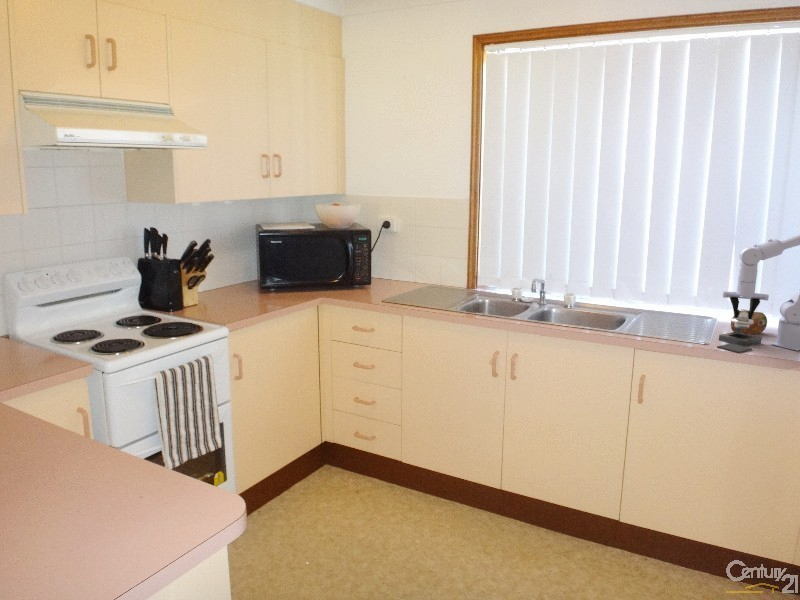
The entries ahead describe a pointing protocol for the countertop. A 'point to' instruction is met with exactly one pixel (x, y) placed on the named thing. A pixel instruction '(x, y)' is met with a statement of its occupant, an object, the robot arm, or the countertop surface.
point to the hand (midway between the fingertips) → (742, 318)
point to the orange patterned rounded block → (757, 325)
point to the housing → (740, 339)
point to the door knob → (742, 319)
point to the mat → (734, 348)
